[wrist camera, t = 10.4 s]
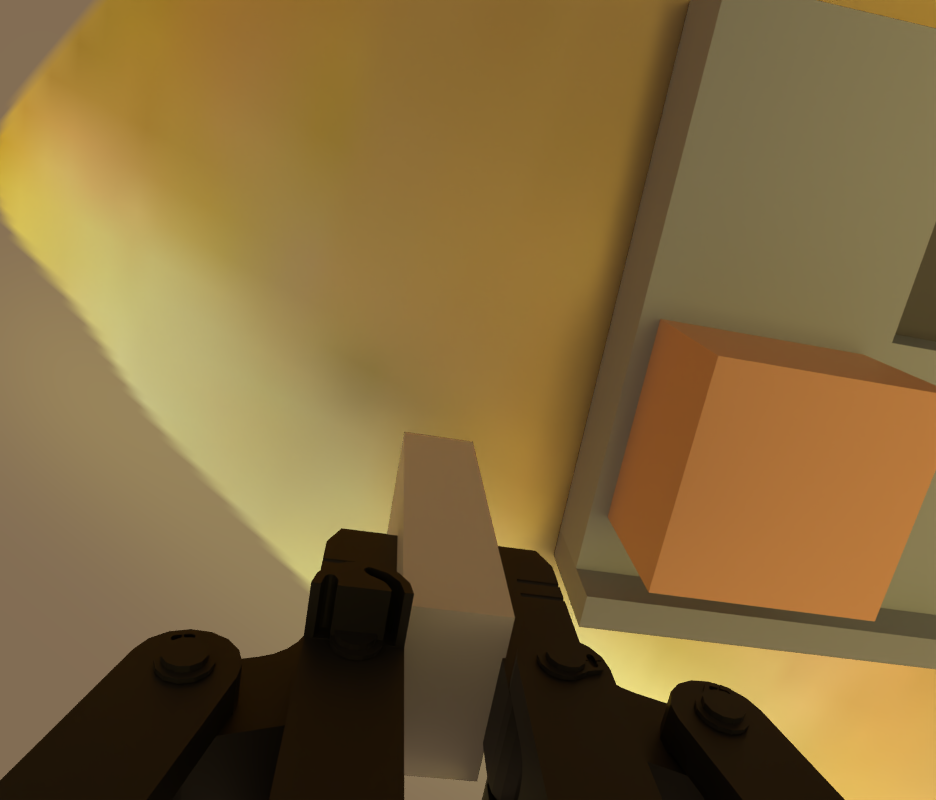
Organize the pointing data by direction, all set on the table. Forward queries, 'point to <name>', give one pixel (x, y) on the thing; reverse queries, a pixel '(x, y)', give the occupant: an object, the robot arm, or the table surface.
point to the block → (772, 472)
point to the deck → (774, 278)
